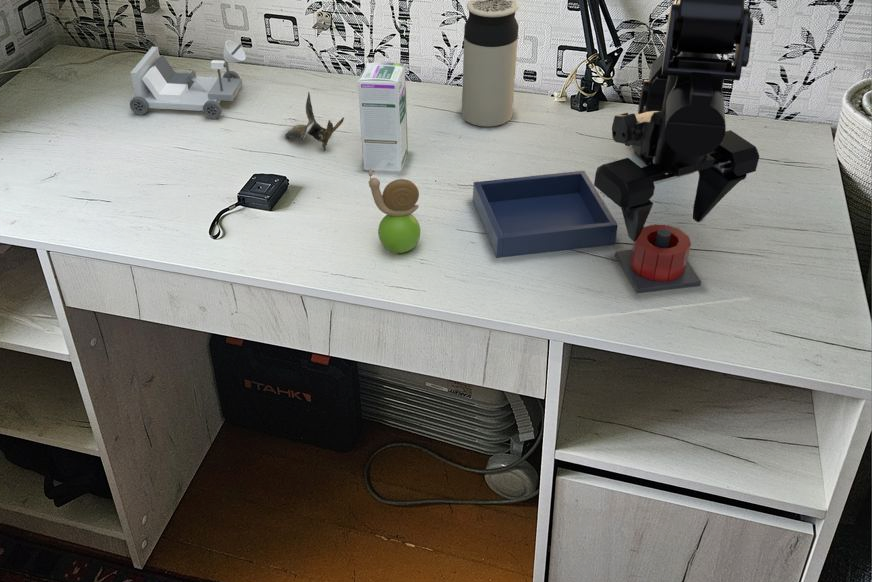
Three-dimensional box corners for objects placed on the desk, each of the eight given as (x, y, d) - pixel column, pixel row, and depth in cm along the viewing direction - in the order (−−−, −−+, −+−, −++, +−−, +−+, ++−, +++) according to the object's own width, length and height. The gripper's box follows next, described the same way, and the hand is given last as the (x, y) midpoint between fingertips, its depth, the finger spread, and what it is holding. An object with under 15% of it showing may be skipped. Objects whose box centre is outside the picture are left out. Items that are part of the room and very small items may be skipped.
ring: (672, 247, 119) (678, 221, 116) (693, 278, 114) (699, 251, 111) (622, 253, 118) (627, 227, 116) (641, 284, 113) (646, 258, 111)
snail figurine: (369, 239, 124) (366, 159, 116) (417, 235, 125) (417, 155, 117) (373, 263, 120) (369, 182, 112) (423, 259, 121) (423, 178, 113)
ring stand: (674, 250, 120) (683, 210, 116) (700, 288, 114) (709, 247, 110) (614, 257, 119) (620, 217, 116) (636, 295, 113) (644, 255, 110)
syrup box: (401, 174, 137) (400, 80, 127) (361, 171, 138) (357, 78, 128) (408, 154, 141) (407, 62, 131) (369, 151, 142) (365, 60, 132)
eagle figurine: (354, 131, 144) (317, 102, 148) (337, 107, 138) (299, 77, 142) (320, 168, 144) (284, 138, 148) (301, 145, 138) (265, 115, 142)
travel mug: (514, 127, 146) (523, 14, 134) (463, 129, 146) (467, 15, 134) (509, 103, 152) (516, -8, 140) (460, 105, 152) (463, -6, 140)
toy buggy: (249, 32, 153) (229, 62, 144) (256, 88, 159) (237, 120, 151) (145, 27, 156) (118, 57, 147) (155, 83, 162) (131, 114, 153)
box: (581, 191, 131) (584, 170, 129) (614, 246, 121) (618, 224, 119) (472, 203, 130) (473, 182, 128) (496, 260, 120) (497, 238, 118)
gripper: (711, 65, 111) (686, 179, 121) (575, 98, 105) (561, 215, 116) (777, 104, 103) (745, 223, 113) (633, 142, 98) (613, 263, 108)
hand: (664, 229), depth 113 cm, fingers open, 9 cm apart
